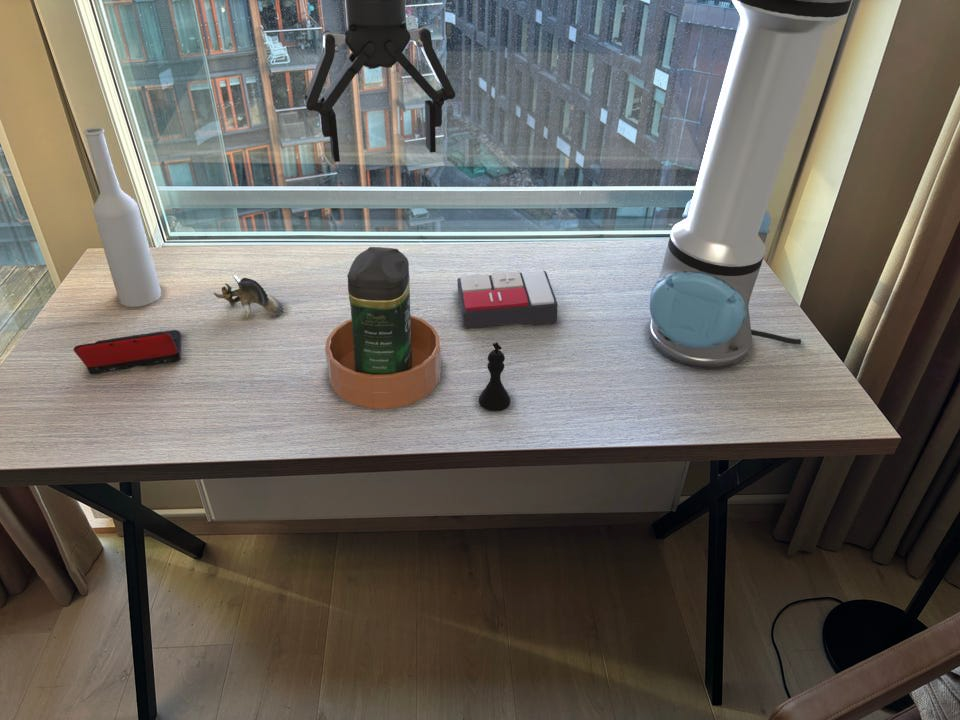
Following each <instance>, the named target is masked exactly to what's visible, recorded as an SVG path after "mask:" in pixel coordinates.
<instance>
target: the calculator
mask: <svg viewBox="0 0 960 720" xmlns="http://www.w3.org/2000/svg"><path fill="white" fill-rule="evenodd" d="M456 282H457V294H458V301H459V307H460V314H461V319H462V324H463V325H462V327H463V328H465V329H472V328H484V327H494V326H505V325H506V326H507V325H518V324H531V325H533V326H540V325H541V326H542V325H553V324H557V323H558V308H559V307H558V306H559V305H558V301H557V298H556V296H555V293H554V290H553V286H552V284H551V281H550V279H549V276H548V273H547V271H546V270H543V269H540V270H527V271H522V272H520V271H518V270H515V271H506V272H503V271H502V272H493V273H491V274H489V273H481V274H479V273H478V274H469V275H461V276H460V277H458V278H457V281H456Z"/></svg>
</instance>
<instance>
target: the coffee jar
mask: <svg viewBox="0 0 960 720" xmlns="http://www.w3.org/2000/svg"><path fill="white" fill-rule="evenodd" d="M346 277H347V292H348V293H347V294H348V299H349V307H350V319H352V333H353V346H354V364H355V372H359V373H365V374H371V375H385V374H394V373H399V372H403V371H408V370H410V369H411V366H412V348H411V321H410V315H411V290H410V289H411V287H410V280H411V279H410V263H409V259H408V258H407V256H406V255H405V254H404V253H402V252H401V251H400V250H399V249H398V248H394V247H380V246H369V247H368V248H367V249H365V250H364V251H362V252H360V253H359V254H358V255H356V257H355V258H354V260H353V261H352V263H351V265H350V268H349V269H348V273H347V275H346Z"/></svg>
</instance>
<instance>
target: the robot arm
mask: <svg viewBox="0 0 960 720" xmlns="http://www.w3.org/2000/svg"><path fill="white" fill-rule="evenodd" d="M731 2H732V4H733V5H734V7H735V8H736V10H737V12H738V14H739V21H738V24H737V29H736V32H735V36H734V40H733V43H732V48H731V51H730V54H729V59H728V63H727V67H726V71H725V74H724V77H723V82H722V86H721V89H720V93H719V97H718V100H717V105H716V108H715V112H714V116H713V119H712V123H711V127H710V130H709V135H708V139H707V143H706V146H705V150H704V154H703V158H702V161H701V165H700V169H699V173H698V176H697V181H696V184H695V187H694V192H693V196H692V198H691V199H689V201H688V202H687V203H686V205H685V209H684V212H683V213H682V215H681V217H682V218H683V219H682V220H681V221H679V222H677V223H676V224H674V225H673V227H672V228H671V231H670V235H669V238H668V242H667V245H666V250H665V254H664V257H663V262H662V264H661V265H662V266H661V269H660V273H659V276H658V279H657V280H656V282H655V284H654V285H653V287H652V288H651V291H650V299H649V313H650V316H651V317H650V318H651V320H650V326H649V332H648V336H649V340H650V342H651V344H652V345H653V347H654V348H655V349H656V350H657V351H658V352H659V353H660V354H662V355H663V356H664V357H666V358H668V359H670V360H671V361H674V362H676V363H679V364H681V365H684V366H687V367H691V368H696V369H705V370H719V369H726V368H730V367H733V366H736V365H738V364H740V363H742V361H744V360H745V359H746V358H747V357H748V355H749V353H750V349H751V345H752V341H753V336H756V337H761V338H766V339H769V340H770V339H771V340H774V341H778V342H782V343H787V344H792V345H801V344H802V339H801V338H791V337H787V336H782V335H779V334H774V333H769V332H765V331H759V330H754V329H752V327H751V326H752V325H751V317H750V309H749V305H750V301H751V296H752V294H753V291H754V287H755V285H756V281H757V279H758V276H759V273H760V270H761V267H762V264H763V260H764V259H765V255H766V251H767V247H766V245H765V244H766V241H767V237H768V234H770V232H771V231H770V224H771V214H770V213H769V211H768V210H767V208H768V205H769V203H770V199H771V196H772V193H773V190H774V187H775V184H776V181H777V178H778V175H779V172H780V168H781V166H782V162H783V159H784V156H785V154H786V150H787V147H788V144H789V141H790V138H791V136H792V133H793V129H794V126H795V124H796V121H797V117H798V114H799V111H800V108H801V105H802V103H803V99H804V96H805V94H806V93H805V92H806V90H807V87H808V84H809V81H810V78H811V75H812V72H813V69H814V65H815V62H816V60H817V56H818V54H819V51H820V48H821V45H822V42H823V38H824V35H825V33H826V31H827V30H828V29H829V28H830V27H832V26H834V25H835V24H837V23H839V21H841V20H843V19H844V18H846V17H847V15H848V13H849V10H850V7H851V4H852V2H853V0H731ZM344 5H345V18H346V19H345V20H346V30H345V33H332V32H331V31H330V30H324V32H322V48H321V52H320V54H319V57H318V60H317V62H316V65H315V68H314V71H313V73H312V76H311V79H310V82H309V85H308V86H307V90H306V92H305V95H304V98H303V103H304V105H305V108H306V110H308V111H311V112H313V111H314V112H317V113H318V114H319V115H318V116H319V124H320V131H321V134H322V136H323V137H324V138H329V144H330V154H331V157H332V160H333V162H334V163H339V162H341V158H340V148H339V147H340V146H339V136H338V126H337V116H336V113H335V111H334V106H335V105H336V103H337V102H338V101H339V99H340V97H341V96H342V95H343V93H344V92H345V91H346V89H347V88H348V86H349V85H350V83H351V82H352V80H353V79H354V77H355V76H356V75H357V74H359V72H360V71H361V70H362V68H363V67H365V68H367V69H368V70H375V69H377V68H380V67H381V68H385V69H386V68H387V69H388V68H393V66H395V65H396V64H397V63H398V64H399V65H400V66H401V68H403V70H405V72H406V73H407V74H408V75H409V76H410V77H411V78H412V80H413V81H414V82H415V83H416V84H417V85H418V87H420V88H421V90H422V91H423V92H424V93H425V94H426V95H427V96H428V98H429V99H428V100H427V99H426V100H424V124H425V125H424V127H425V147H426V148H427V150H428V151H429V153H436V152H437V148H436V147H437V144H436V143H437V142H436V138H437V137H436V128H440V127H442V125H443V106H444V104H445V102H446V101H447V100H448V101H449V100H453V99H454V98H455V96H456V92H455V90H454V88H453V86H452V84H451V82H450V79H449V78H448V76H447V74H446V72H445V70H444V67H443V65H442V64H441V62H440V59H439V58H438V57H439V56H437V54H436V51H435V49H434V47H433V41H432V40H433V39H432V34H431V33H432V32H431V30H429V28H427V27H426V25H422V24H421V25H419V26H418V27H417V28H415V29H414V28H413V29H408V28H407V13H406V10H407V9H406V0H344ZM411 41H413V43H414V45H416V47H418V48H420V50H421V52H422V54H423V55H424V58H425V59H426V62H427V64H428V66H429V68H430V70H431V72H432V74H433V75H434V78H435V80H436V82H437V83H438V85H439V87H440V88H439V89H437V90H436V89H435V88H434V87H433V86H432V85H431V83H430V82H429V81H428V80H427V79H426V78H425V76H424V75H423V74H422V73H421V72H420V71H419V69H418V68H417V67H416V66H415V65H414V64H413V63H412V62H411V61H410V60H409V59H408V57H407V56H406V55H405V54H404V52H405V51H406V49H407V47H408V45H410V42H411ZM343 45H346V47H347V48H348V50H349V51H350V53H349V55H348V57H347V58H346V60H345V63H344V64H343V66H342V67H341V69H340V70H339V71H338V73H337V74H336V76H335V78H334V79H333V80H332V81H331V83H330V84H329V86H328V87H327V88H326V90H325V92H324V93H323V95H322V91H323V88H324V86H325V83H326V80H327V78H328V75H329V72H330V70H331V67H332V64H333V62H334V59H335V55H336V54H335V53H339V52H340V51H341V47H342V46H343ZM321 95H322V96H321ZM320 96H321V97H320ZM319 98H320V99H319Z"/></svg>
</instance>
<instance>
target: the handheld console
mask: <svg viewBox="0 0 960 720" xmlns="http://www.w3.org/2000/svg"><path fill="white" fill-rule="evenodd" d="M73 352H74V353H75V354H76V355H77V356H78V358H79V359H80V360H81V362H82V363H83V364H84V365H85V367H86V369H87V371H88V373H89V374H90V375H99V374H103V373H109V372H115V371H123V370H127V369H132V368H135V367H147V366H148V367H149V366H154V365H161V364H162V365H163V364H168V363H175V362H179V361H180V360H181V359H182V356H181V355H182V353H181V352H182V334H181V332H180V331H179V330H178V329H171V330H170V329H169V330H164V331H162V330H161V331H155V332H149V333H141V334H134V335H133V334H132V335H126V336H121V337H114V338H113V337H112V338H109V339H102V340H101V339H100V340H97V341H95V342H92V343H84V344H79V345H75V346H74V347H73Z"/></svg>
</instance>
